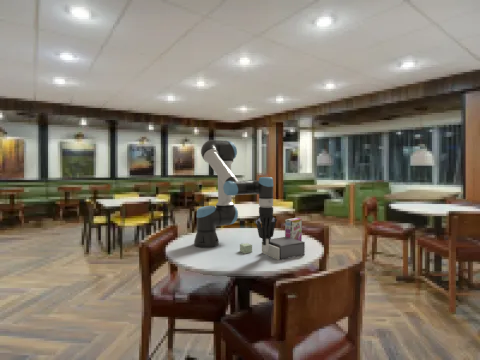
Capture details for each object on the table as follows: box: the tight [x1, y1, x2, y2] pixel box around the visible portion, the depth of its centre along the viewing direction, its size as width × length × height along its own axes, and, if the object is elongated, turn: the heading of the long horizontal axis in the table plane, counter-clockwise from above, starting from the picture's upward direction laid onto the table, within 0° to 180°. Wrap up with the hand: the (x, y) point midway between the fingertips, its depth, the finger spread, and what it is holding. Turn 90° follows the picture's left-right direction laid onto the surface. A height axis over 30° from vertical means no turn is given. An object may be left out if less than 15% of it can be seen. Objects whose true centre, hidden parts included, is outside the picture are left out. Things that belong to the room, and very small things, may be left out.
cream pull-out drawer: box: [261, 243, 281, 261], centre depth 159 cm, size 16×15×6 cm
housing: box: [270, 236, 306, 261], centre depth 160 cm, size 16×15×7 cm
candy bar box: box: [284, 217, 303, 241], centre depth 176 cm, size 11×5×16 cm, turn 135°
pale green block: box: [239, 242, 253, 254], centre depth 164 cm, size 5×5×4 cm
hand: (266, 250), depth 154 cm, fingers closed
